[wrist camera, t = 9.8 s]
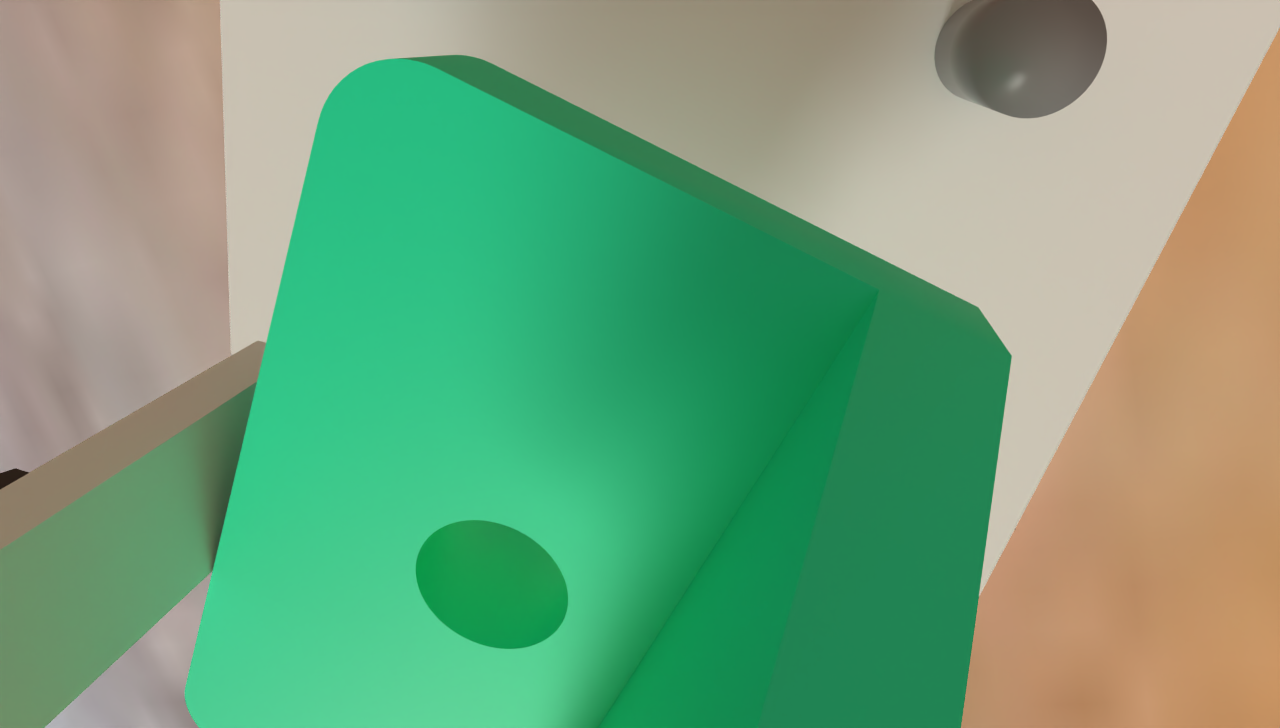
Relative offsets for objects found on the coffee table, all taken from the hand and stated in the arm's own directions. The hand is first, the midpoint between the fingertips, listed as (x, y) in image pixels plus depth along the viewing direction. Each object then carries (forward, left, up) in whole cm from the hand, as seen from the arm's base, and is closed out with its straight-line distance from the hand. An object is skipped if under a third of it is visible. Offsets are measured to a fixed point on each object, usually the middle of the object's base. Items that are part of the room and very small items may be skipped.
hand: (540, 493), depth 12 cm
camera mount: (0, 0, -1) cm, 1 cm away
